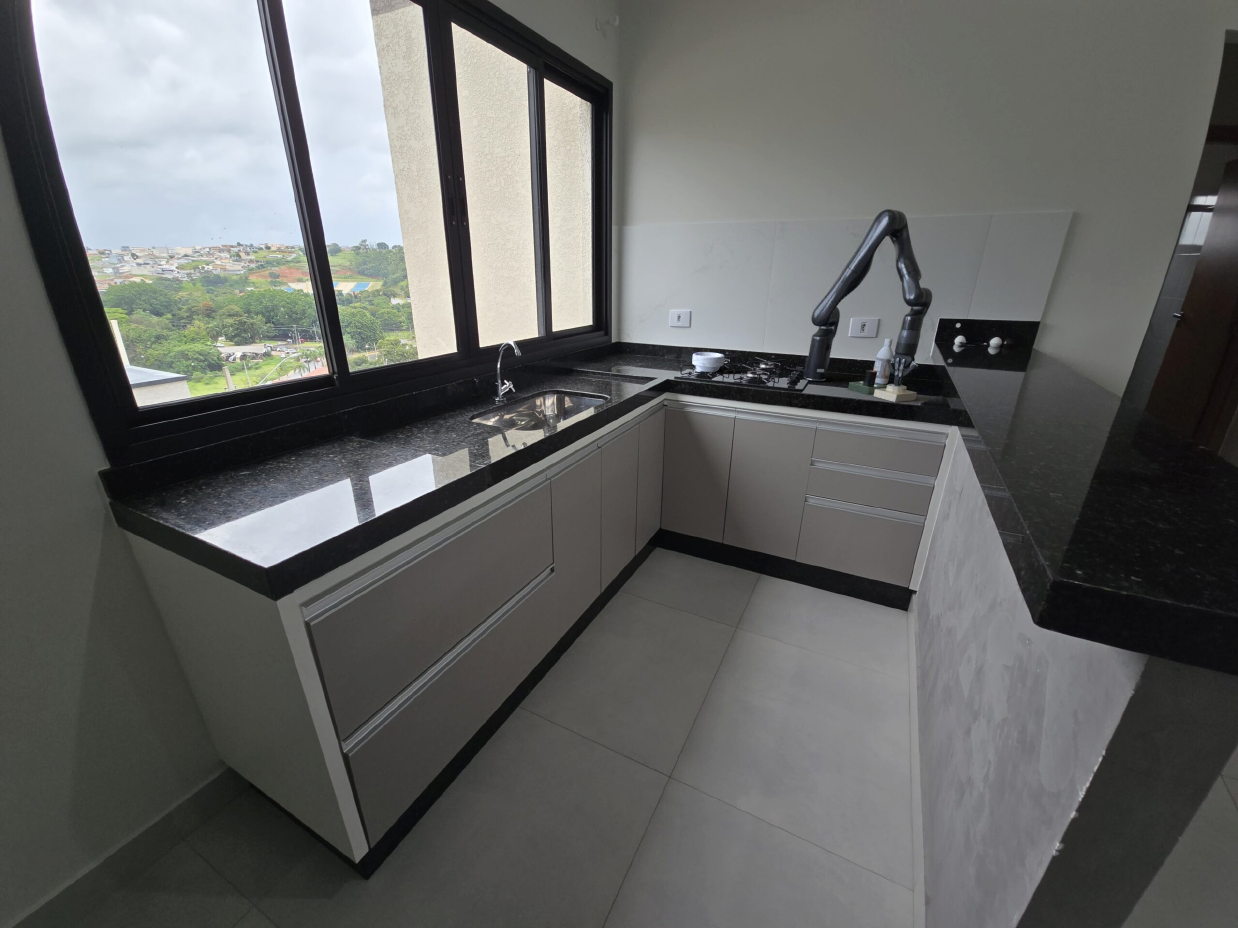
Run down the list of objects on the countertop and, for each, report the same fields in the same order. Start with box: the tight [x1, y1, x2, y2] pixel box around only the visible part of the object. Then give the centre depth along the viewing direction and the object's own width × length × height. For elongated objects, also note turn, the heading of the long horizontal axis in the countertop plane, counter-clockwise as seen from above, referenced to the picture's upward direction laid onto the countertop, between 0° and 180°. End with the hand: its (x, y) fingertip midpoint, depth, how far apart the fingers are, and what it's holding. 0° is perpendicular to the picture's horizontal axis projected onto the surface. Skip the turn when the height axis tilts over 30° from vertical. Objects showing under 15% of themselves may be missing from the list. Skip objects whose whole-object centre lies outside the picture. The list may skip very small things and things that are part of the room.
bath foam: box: [873, 337, 895, 385], centre depth 231 cm, size 7×7×20 cm
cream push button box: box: [873, 383, 918, 403], centre depth 205 cm, size 10×12×5 cm
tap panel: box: [847, 380, 888, 395], centre depth 216 cm, size 10×12×3 cm
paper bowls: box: [692, 351, 726, 373], centre depth 245 cm, size 15×15×8 cm
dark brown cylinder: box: [863, 369, 877, 385], centre depth 214 cm, size 4×4×6 cm
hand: (897, 385), depth 204 cm, fingers closed
